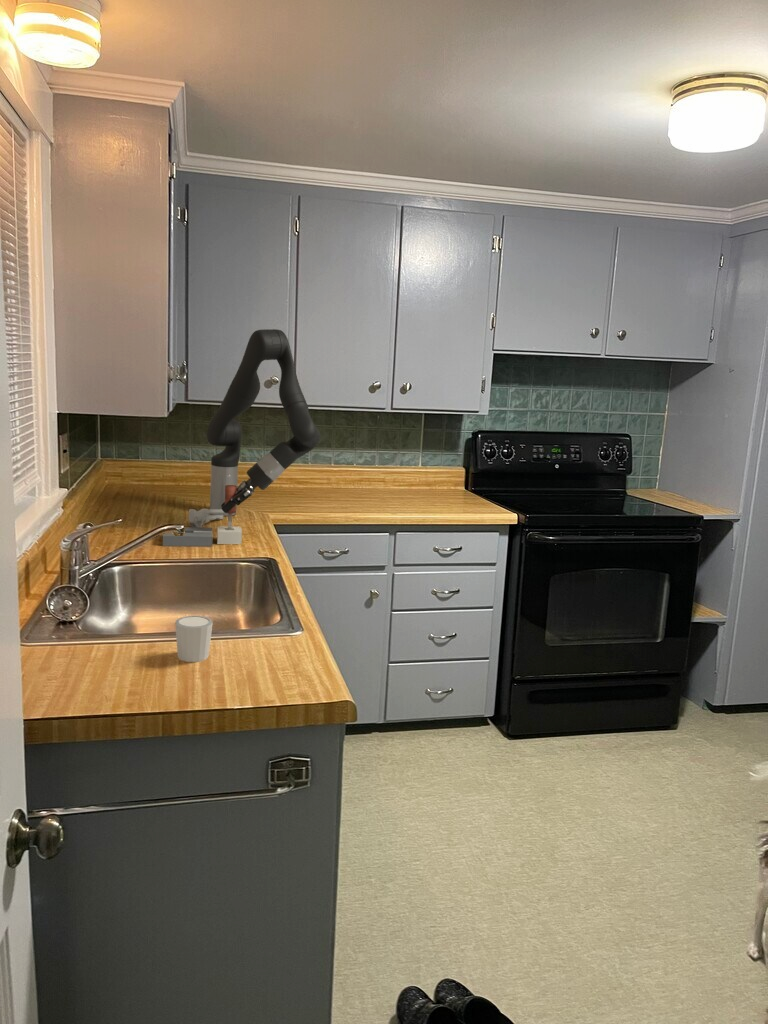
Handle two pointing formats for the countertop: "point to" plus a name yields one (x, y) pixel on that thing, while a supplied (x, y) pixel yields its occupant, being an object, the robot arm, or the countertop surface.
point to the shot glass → (193, 638)
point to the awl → (229, 494)
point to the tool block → (229, 535)
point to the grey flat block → (190, 537)
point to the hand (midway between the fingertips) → (223, 509)
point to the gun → (203, 516)
